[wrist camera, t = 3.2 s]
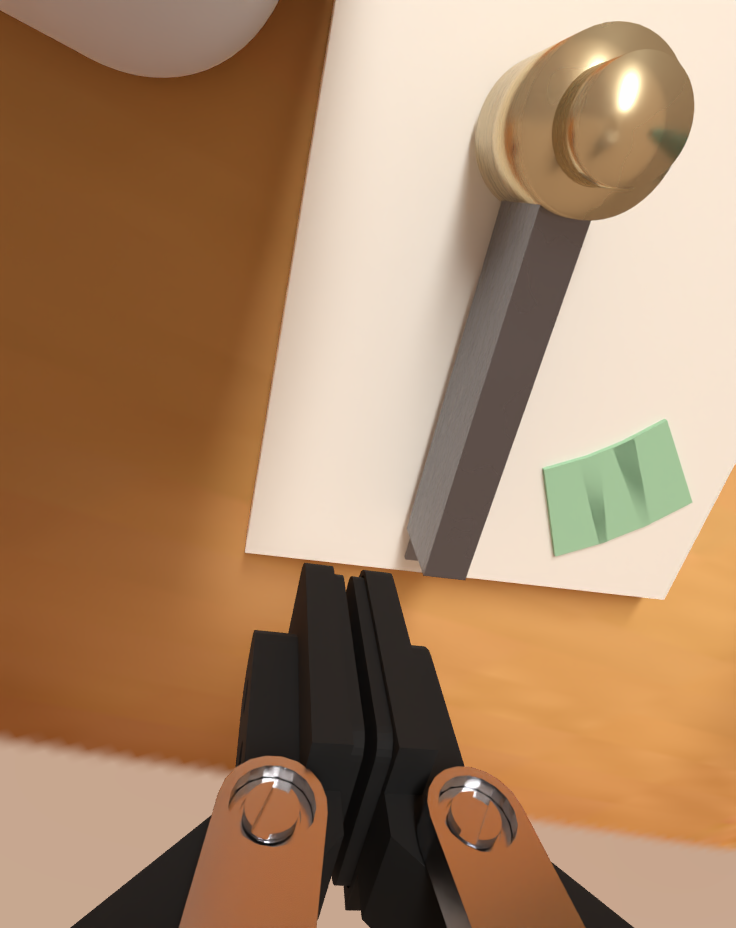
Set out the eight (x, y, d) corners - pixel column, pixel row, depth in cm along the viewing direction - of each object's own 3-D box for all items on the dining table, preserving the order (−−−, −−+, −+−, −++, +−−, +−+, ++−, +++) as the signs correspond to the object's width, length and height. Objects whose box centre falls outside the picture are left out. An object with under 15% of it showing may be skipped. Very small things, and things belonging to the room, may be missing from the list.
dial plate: (360, -162, 17) (368, -197, 15) (913, 47, 21) (963, 37, 19) (246, 533, 26) (244, 555, 24) (646, 580, 30) (666, 602, 28)
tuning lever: (500, 33, 17) (586, -25, 12) (631, 76, 18) (761, 38, 13) (372, 521, 24) (396, 610, 19) (474, 534, 25) (520, 622, 20)
